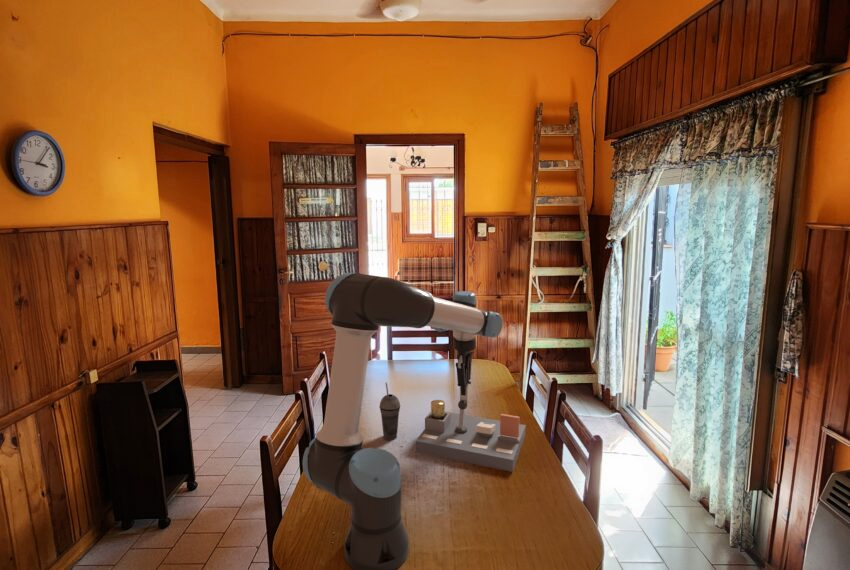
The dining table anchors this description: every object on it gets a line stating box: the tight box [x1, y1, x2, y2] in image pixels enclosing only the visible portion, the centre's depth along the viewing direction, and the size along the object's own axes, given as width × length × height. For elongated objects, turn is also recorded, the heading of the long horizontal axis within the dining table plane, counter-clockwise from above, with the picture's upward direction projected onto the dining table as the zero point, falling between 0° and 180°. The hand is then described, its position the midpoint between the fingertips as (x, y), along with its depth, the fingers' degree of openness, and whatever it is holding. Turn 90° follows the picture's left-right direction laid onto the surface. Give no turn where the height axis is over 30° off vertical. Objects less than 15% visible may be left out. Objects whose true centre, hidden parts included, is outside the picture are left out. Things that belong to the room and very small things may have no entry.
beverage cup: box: [378, 382, 401, 441], centre depth 161 cm, size 7×7×20 cm
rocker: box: [476, 422, 495, 434], centre depth 156 cm, size 7×5×2 cm
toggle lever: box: [457, 399, 468, 427], centre depth 159 cm, size 3×3×9 cm
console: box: [415, 411, 527, 473], centre depth 158 cm, size 24×32×8 cm
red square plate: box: [499, 413, 520, 438], centre depth 153 cm, size 1×6×7 cm, turn 69°
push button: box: [430, 399, 446, 420], centre depth 161 cm, size 5×5×6 cm
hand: (464, 402), depth 161 cm, fingers closed
